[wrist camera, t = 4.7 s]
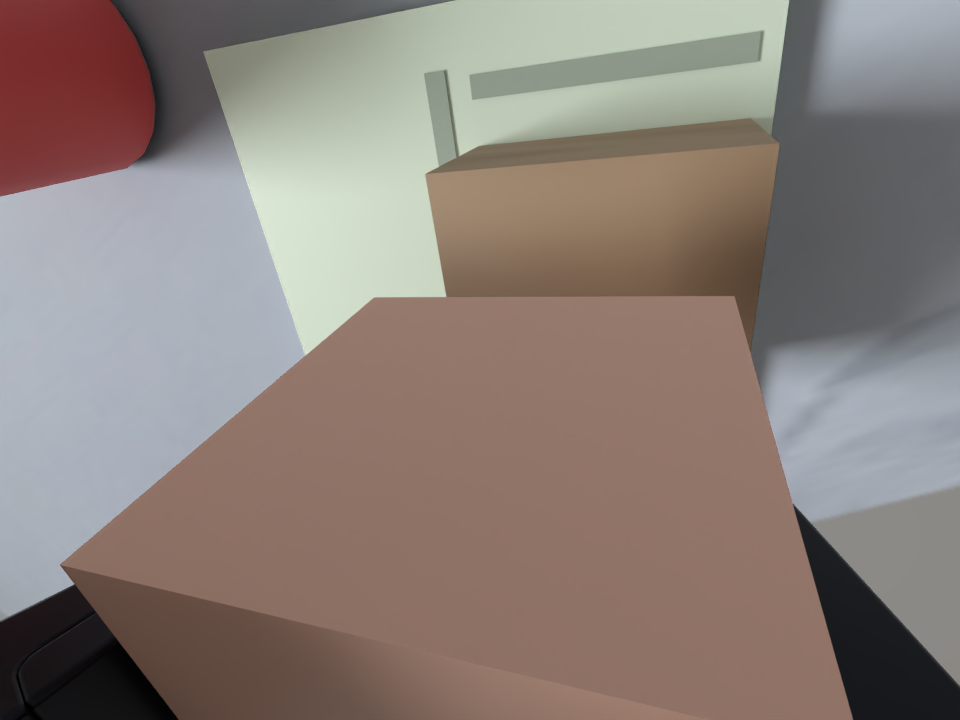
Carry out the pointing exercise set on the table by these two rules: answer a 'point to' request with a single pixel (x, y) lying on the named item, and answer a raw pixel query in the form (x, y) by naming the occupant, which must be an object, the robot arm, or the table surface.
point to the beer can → (69, 93)
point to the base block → (610, 215)
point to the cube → (482, 529)
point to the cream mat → (459, 117)
